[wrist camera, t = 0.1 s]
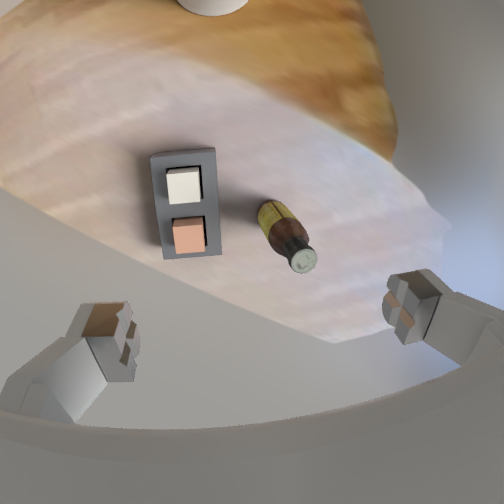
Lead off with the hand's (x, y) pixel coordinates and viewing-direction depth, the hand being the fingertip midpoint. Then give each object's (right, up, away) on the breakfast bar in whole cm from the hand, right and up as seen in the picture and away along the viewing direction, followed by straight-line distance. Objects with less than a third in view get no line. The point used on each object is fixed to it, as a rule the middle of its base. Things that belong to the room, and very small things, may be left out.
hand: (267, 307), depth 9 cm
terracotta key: (-12, +6, +45) cm, 47 cm away
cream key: (-12, +14, +41) cm, 45 cm away
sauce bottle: (+4, +9, +51) cm, 51 cm away
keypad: (-12, +11, +47) cm, 50 cm away
